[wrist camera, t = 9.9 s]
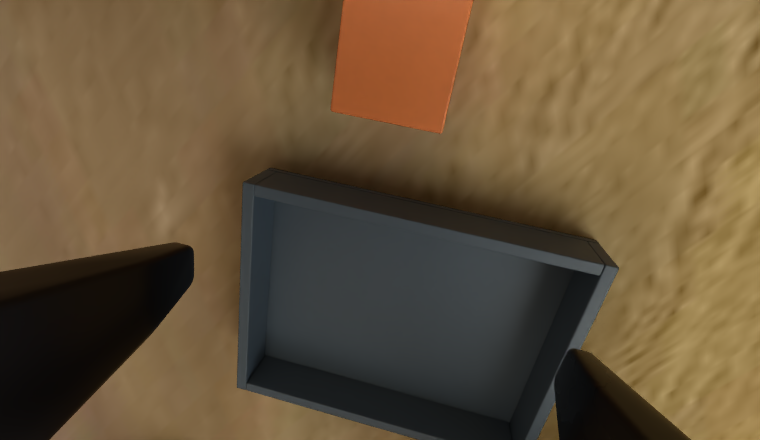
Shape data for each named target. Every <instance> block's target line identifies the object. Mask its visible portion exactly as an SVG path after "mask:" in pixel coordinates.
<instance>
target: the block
mask: <svg viewBox="0 0 760 440" xmlns="http://www.w3.org/2000/svg"><path fill="white" fill-rule="evenodd" d="M472 4H473V0H343V7H342V15H341V24H340V33H339V41H338V50H337V58H336V67H335V76H334V84H333V93H332V101H331V111H332V112H337V113H342V114H346V115H351V116H356V117H361V118H366V119H371V120H376V121H381V122H386V123H390V124H395V125H400V126H405V127H410V128H415V129H420V130H425V131H430V132H435V133H439V134H440V133H442V132H443V128H444V123H445V119H446V115H447V111H448V106H449V102H450V98H451V94H452V89H453V85H454V81H455V76H456V72H457V68H458V64H459V59H460V55H461V51H462V46H463V42H464V38H465V34H466V29H467V25H468V21H469V16H470V12H471V8H472Z"/></svg>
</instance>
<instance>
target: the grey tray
mask: <svg viewBox="0 0 760 440" xmlns="http://www.w3.org/2000/svg"><path fill="white" fill-rule="evenodd" d="M618 270H619V267H618V266H617V265H616V264H615V263H614V261H613V260H612V259H611V258H610V256H609V255H608V254H607V253H606V252H605V250H604V249H603V248H602V247H601V246H600V244H599V243H598V242H597V241H596V240H592V239H588V238H583V237H579V236H574V235H570V234H565V233H561V232H556V231H552V230H547V229H543V228H538V227H534V226H529V225H525V224H520V223H516V222H511V221H507V220H502V219H498V218H493V217H489V216H484V215H480V214H475V213H471V212H466V211H462V210H457V209H453V208H449V207H444V206H440V205H435V204H431V203H426V202H422V201H417V200H413V199H408V198H404V197H399V196H395V195H390V194H386V193H381V192H377V191H372V190H368V189H363V188H359V187H354V186H350V185H345V184H341V183H336V182H332V181H327V180H323V179H318V178H314V177H309V176H305V175H300V174H296V173H291V172H287V171H282V170H278V169H273V168H268V169H267V170H265V171H263V172H261V173H259V174H257V175H255V176H254V177H252V178H250V179H248V180H246V181H244V182H243V194H242V229H241V264H240V298H239V333H238V368H237V388H241V389H244V390H248V391H251V392H255V393H258V394H262V395H265V396H269V397H272V398H276V399H279V400H283V401H286V402H290V403H293V404H297V405H300V406H304V407H307V408H310V409H314V410H317V411H321V412H324V413H328V414H331V415H335V416H338V417H342V418H345V419H349V420H352V421H356V422H359V423H363V424H366V425H369V426H373V427H376V428H380V429H383V430H387V431H390V432H394V433H397V434H401V435H404V436H408V437H411V438H415V439H418V440H537V438H538V436H539V434H540V432H541V430H542V428H543V426H544V424H545V422H546V420H547V418H548V415H549V413H550V411H551V409H552V407H553V405H554V403H555V391H554V381H555V376H556V374H557V372H558V370H559V368H560V365H561V363H562V361H563V359H564V357H565V355H566V353H567V351H568V350H569V349H571V348H575V349H579V350H580V349H581V347H582V345H583V343H584V341H585V338H586V336H587V334H588V332H589V330H590V328H591V326H592V324H593V322H594V320H595V318H596V316H597V313H598V311H599V309H600V307H601V305H602V303H603V301H604V299H605V297H606V295H607V293H608V291H609V288H610V286H611V284H612V282H613V280H614V278H615V276H616V274H617V272H618Z"/></svg>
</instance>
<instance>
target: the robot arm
mask: <svg viewBox="0 0 760 440" xmlns="http://www.w3.org/2000/svg"><path fill="white" fill-rule="evenodd" d="M193 278H194V251H193V249H192V247H191V246H188V245H184V244H181V243H176V242H174V243H168V244H162V245H156V246H150V247H144V248H138V249H132V250H127V251H121V252H115V253H109V254H103V255H97V256H91V257H85V258H79V259H74V260H68V261H62V262H56V263H50V264H44V265H38V266H32V267H27V268H21V269H15V270H9V271H3V272H0V440H49V439H50V438H51V437H52V436H53V435H54V434H55V433H56V432H57V431H58V430H59V429H60V428H61V427H62V426H63V425H64V424H65V423H66V422H67V421H68V420H69V419H70V418H71V417H72V416H73V415H74V414H75V413H76V412H77V411H78V410H79V409H80V407H81V406H82V405H83V404H84V403H85V402H86V401H87V400H88V399H89V398H90V397H91V396H92V395H93V394H94V393H95V392H96V391H97V390H98V389H99V388H100V387H101V386H102V385H103V384H104V383H105V382H106V381H107V380H108V379H109V378H110V377H111V375H112V374H113V373H114V372H115V371H116V370H117V369H118V368H119V367H120V366H121V365H122V364H123V363H124V362H125V361H126V360H127V359H128V358H129V357H130V356H131V355H132V354H133V353H134V352H135V351H136V350H137V349H138V348H139V347H140V346H141V345H142V343H143V342H144V341H145V340H146V339H147V338H148V337H149V336H150V335H151V334H152V333H153V331H154V330H155V329H156V328H157V327H158V326H159V324H160V323H161V322H162V321H163V319H164V318H165V317H166V315H167V314H168V313H169V312H170V310H171V309H172V308H173V307H174V305H175V304H176V303H177V302H178V300H179V299H180V298H181V297H182V295H183V294H184V293H185V292H186V290H187V289H188V288H189V287H190V285H191V283H192V281H193ZM554 391H555V401H556V411H557V421H558V430H559V440H691V439H690V438H688V437H687V436H686V435H685V434H684V433H683V432H682V431H680V430H679V429H678V428H677V427H676V426H675V425H673V424H672V423H671V422H670V421H669V420H668V419H667V418H665V417H664V416H663V415H662V414H661V413H660V412H658V411H657V410H656V409H655V408H654V407H653V406H652V405H650V404H649V403H648V402H647V401H646V400H645V399H643V398H642V397H641V396H640V395H639V394H638V393H637V392H635V391H634V390H633V389H632V388H631V387H630V386H628V385H627V384H626V383H625V382H624V381H623V380H622V379H620V378H619V377H618V376H617V375H616V374H615V373H613V372H612V371H611V370H610V369H609V368H608V367H607V366H605V365H604V364H603V363H602V362H601V361H600V360H598V359H597V358H596V357H595V356H594V355H593V354H591V353H589V352H586V351H582V350H579V349H575V348H571V349H569V350H568V351H567V353H566V355H565V357H564V359H563V361H562V363H561V365H560V368H559V370H558V372H557V374H556V376H555V381H554Z"/></svg>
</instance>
